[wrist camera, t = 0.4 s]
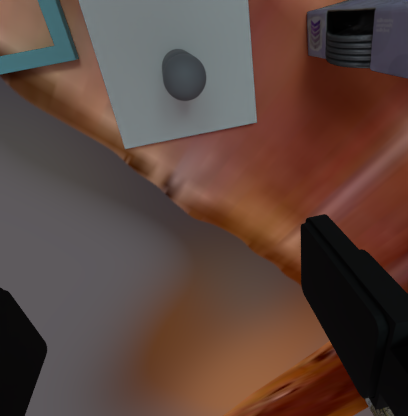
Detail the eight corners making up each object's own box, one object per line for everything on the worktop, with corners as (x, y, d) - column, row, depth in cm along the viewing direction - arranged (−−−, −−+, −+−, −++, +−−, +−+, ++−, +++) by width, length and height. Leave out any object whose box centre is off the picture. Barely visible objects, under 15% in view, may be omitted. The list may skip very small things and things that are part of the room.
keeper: (49, -103, 25) (-27, -197, 15) (234, -136, 26) (284, -249, 15) (126, 145, 36) (113, 189, 26) (254, 120, 37) (290, 152, 27)
